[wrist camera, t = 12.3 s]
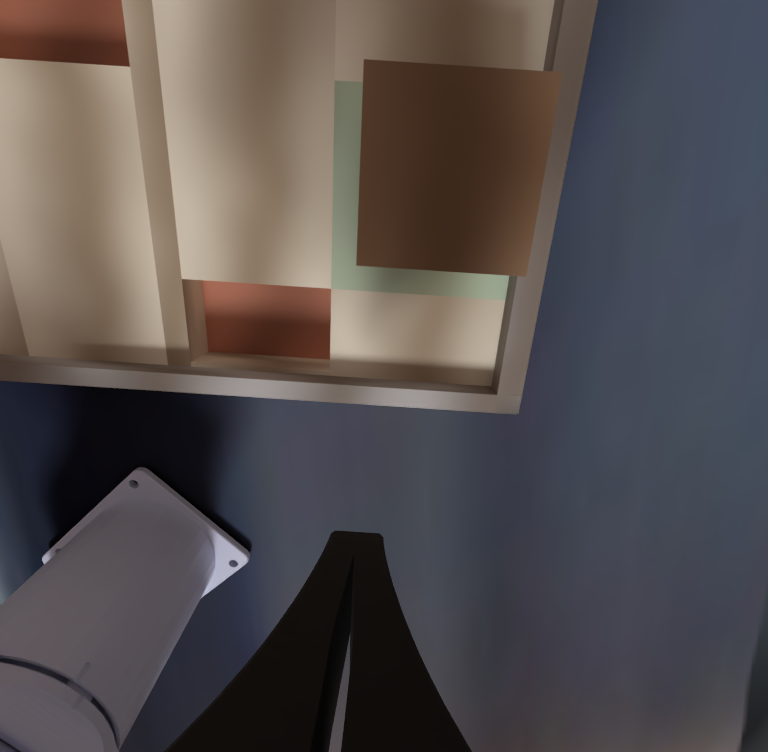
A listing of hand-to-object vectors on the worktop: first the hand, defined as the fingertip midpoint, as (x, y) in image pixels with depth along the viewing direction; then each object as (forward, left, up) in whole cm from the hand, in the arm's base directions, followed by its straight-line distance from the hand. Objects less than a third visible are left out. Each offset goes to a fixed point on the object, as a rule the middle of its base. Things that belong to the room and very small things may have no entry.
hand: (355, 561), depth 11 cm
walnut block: (+8, +6, -7) cm, 13 cm away
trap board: (0, +14, -9) cm, 17 cm away
